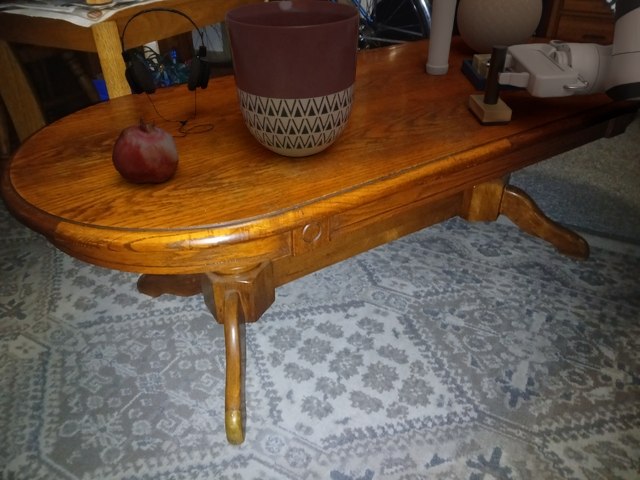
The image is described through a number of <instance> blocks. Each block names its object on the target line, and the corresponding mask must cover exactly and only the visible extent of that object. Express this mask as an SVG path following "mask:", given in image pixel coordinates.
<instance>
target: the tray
mask: <svg viewBox="0 0 640 480" xmlns="http://www.w3.org/2000/svg"><path fill="white" fill-rule="evenodd" d="M472 64H473V58H462V61H461V68H460V70H461V71H462V72H463V74H464V76H465V77H466V78H467V79H468V81H469V82H470V83H471V84H472V86H473V87H474V88H475V89H476V91H477V92H479V91H480V92H481V91H484V92H485V88H486V82H487V78H482V77H481V76H480V75H479V74H478V73H477V71H476V70H475V69H474V68H473V67H472ZM505 71H509V72H510V73H511V71H510V70H509V69H508V68H507V67H506V68H505ZM500 91H528V90H527V89H526V88H525V87H518V86H514V85H509V84H501V87H500Z"/></svg>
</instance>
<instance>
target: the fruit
mask: <svg viewBox="0 0 640 480" xmlns="http://www.w3.org/2000/svg"><path fill="white" fill-rule="evenodd" d="M155 125H156V120H153V121H152V124H151V123H149V122H147V121H146V122H144V117H143V116H140V118H139V124H132V125H129V126H127V127H125V128H123V130H121V132H120V133H119V135H118V136H117V138H116V140H115V142H114V144H113V148H112V152H111V153H112V154H111V161H112V165H113V166H114V168H115V170H116V172H117V173H118V174H119V175H120V177H122V178H123V179H124V180H126V181H128V182H130V183H133V184H141V183H142V184H143V183H147V184H148V183H149V184H160V183H163V182H165V181H167V180H168V179H170V177H172V175H173V174H174V173H175V172H176V170H177V169H178V165H179V162H180V157H179V152H178V148H177V145H176V143H175V140H174V137H172V136H173V135H172V134H171V133H170V132H168V130H165V129H163V128H161V127H159V126H155Z"/></svg>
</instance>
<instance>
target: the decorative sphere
mask: <svg viewBox="0 0 640 480" xmlns="http://www.w3.org/2000/svg"><path fill="white" fill-rule="evenodd" d="M542 13H543V0H459V2H458V6H457V12H456V23H457V29H458V33H459V34H460V37H461V38H462V40H463V42H464V43H465V44H466V45H467V46H468V47H469V48H470V49H472V50H473V51H474V52H476V53H479V54H491V52H492V47H493V46H494V45H504V46H507V47H510V46H513V45H522V44H527V42H528V41H529V40H530V39H531V38H532V36H533V35H534V34H535V32H536V30H537V28H538V26H539V24H540V21H541V18H542Z"/></svg>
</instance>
